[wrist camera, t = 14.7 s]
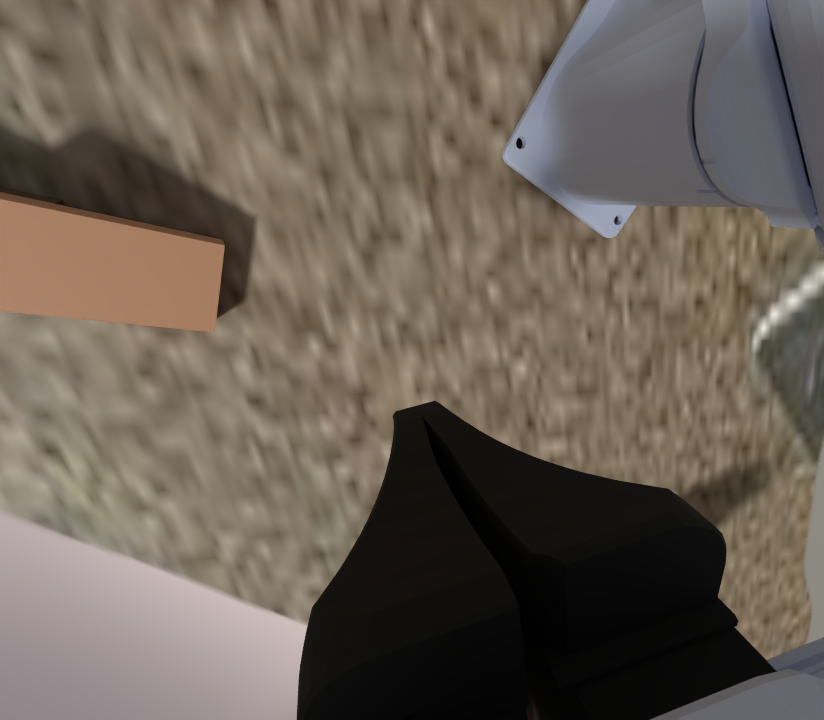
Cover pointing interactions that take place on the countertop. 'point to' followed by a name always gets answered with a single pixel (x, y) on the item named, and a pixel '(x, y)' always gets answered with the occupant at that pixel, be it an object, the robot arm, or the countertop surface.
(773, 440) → the countertop surface
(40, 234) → the domino
